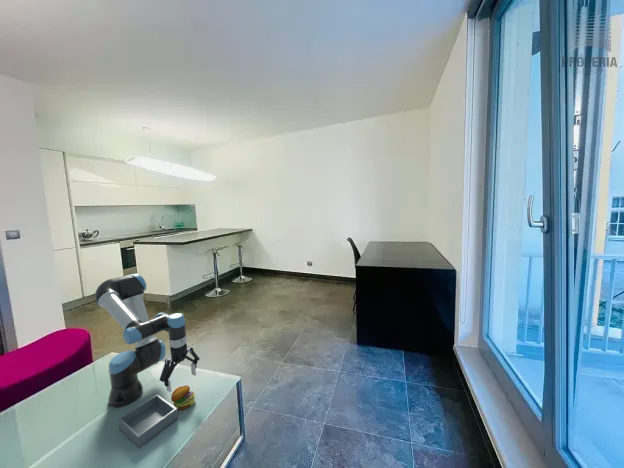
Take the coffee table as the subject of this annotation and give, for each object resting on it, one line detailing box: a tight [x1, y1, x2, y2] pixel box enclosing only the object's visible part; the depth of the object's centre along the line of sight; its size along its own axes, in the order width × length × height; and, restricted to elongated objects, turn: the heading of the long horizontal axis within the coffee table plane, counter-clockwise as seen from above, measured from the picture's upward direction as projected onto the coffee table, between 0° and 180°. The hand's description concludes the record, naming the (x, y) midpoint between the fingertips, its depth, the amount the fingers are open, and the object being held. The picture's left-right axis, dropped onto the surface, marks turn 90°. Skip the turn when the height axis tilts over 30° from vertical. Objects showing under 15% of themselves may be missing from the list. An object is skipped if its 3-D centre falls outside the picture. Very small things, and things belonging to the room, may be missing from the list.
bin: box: [117, 393, 179, 450], centre depth 125 cm, size 18×18×6 cm
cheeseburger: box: [170, 385, 195, 411], centre depth 137 cm, size 10×11×10 cm
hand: (182, 382), depth 135 cm, fingers open, 13 cm apart
